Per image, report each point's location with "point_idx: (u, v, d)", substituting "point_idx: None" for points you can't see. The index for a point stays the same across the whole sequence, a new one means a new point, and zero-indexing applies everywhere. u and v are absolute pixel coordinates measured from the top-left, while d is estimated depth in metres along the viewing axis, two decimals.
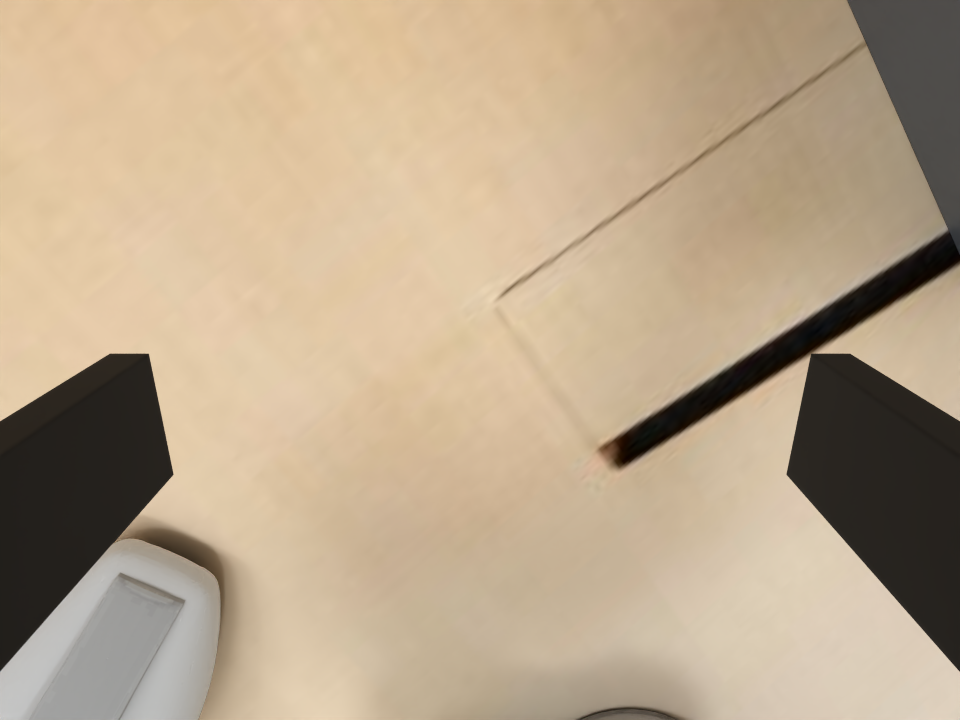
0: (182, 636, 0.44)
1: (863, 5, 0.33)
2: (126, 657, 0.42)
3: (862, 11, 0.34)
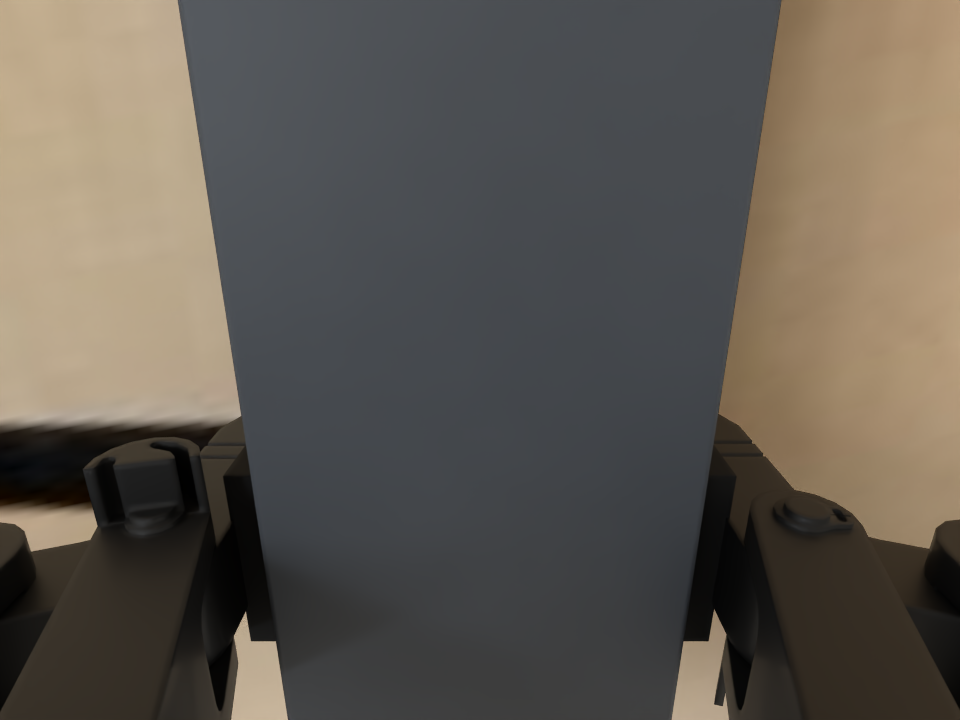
0: None
1: None
2: None
3: None
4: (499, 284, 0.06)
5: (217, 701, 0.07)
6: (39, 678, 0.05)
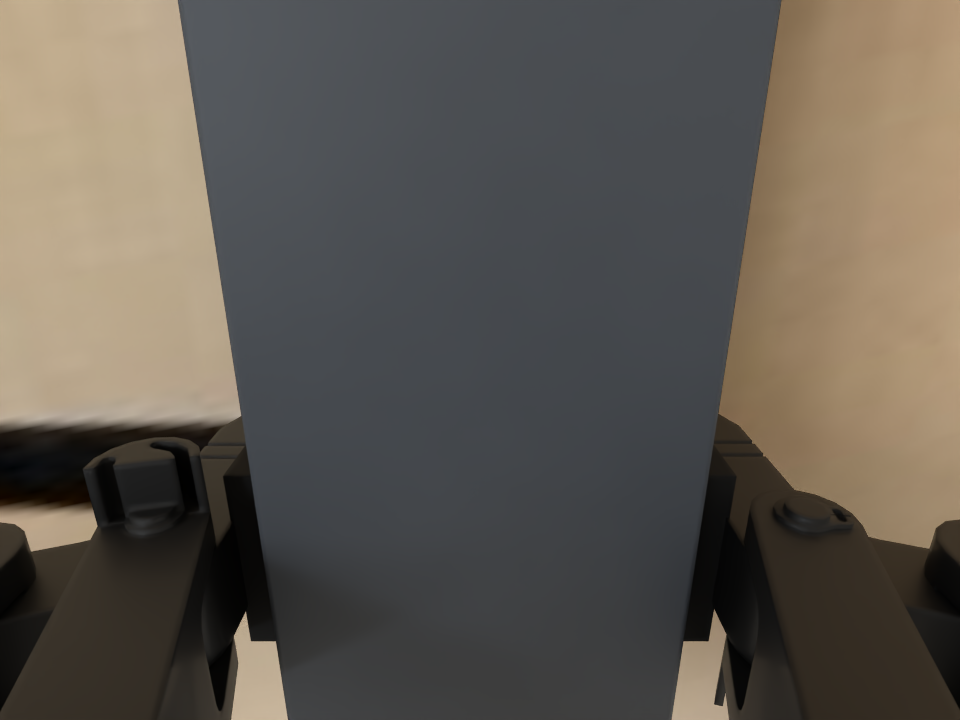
0: None
1: None
2: None
3: None
4: (500, 284, 0.06)
5: (217, 701, 0.07)
6: (39, 678, 0.05)
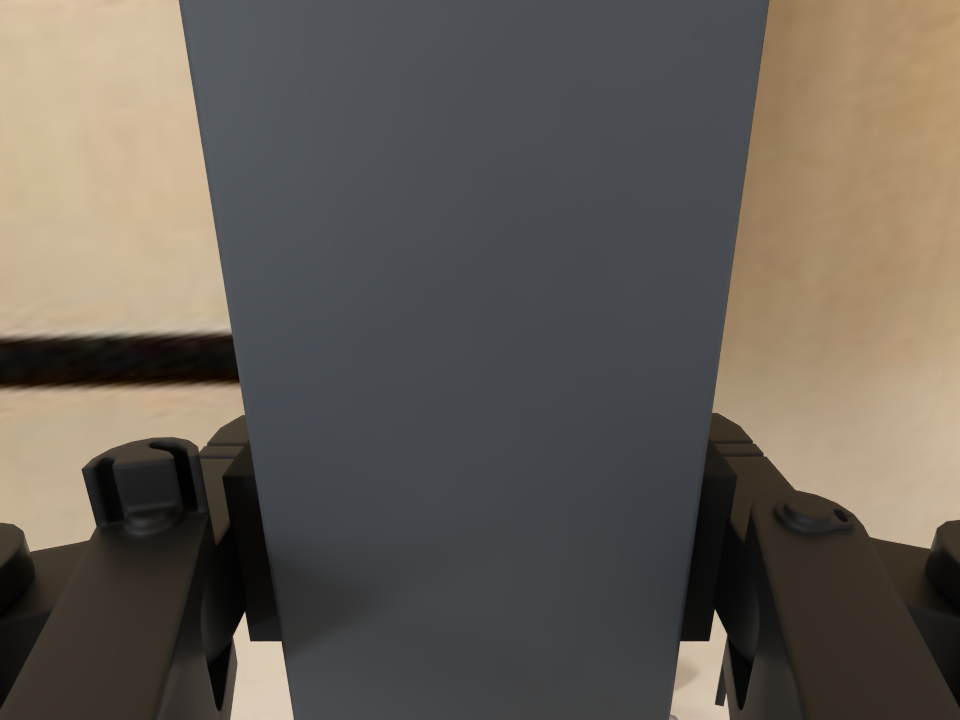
0: None
1: None
2: None
3: None
4: (496, 281, 0.06)
5: (216, 701, 0.07)
6: (37, 678, 0.05)
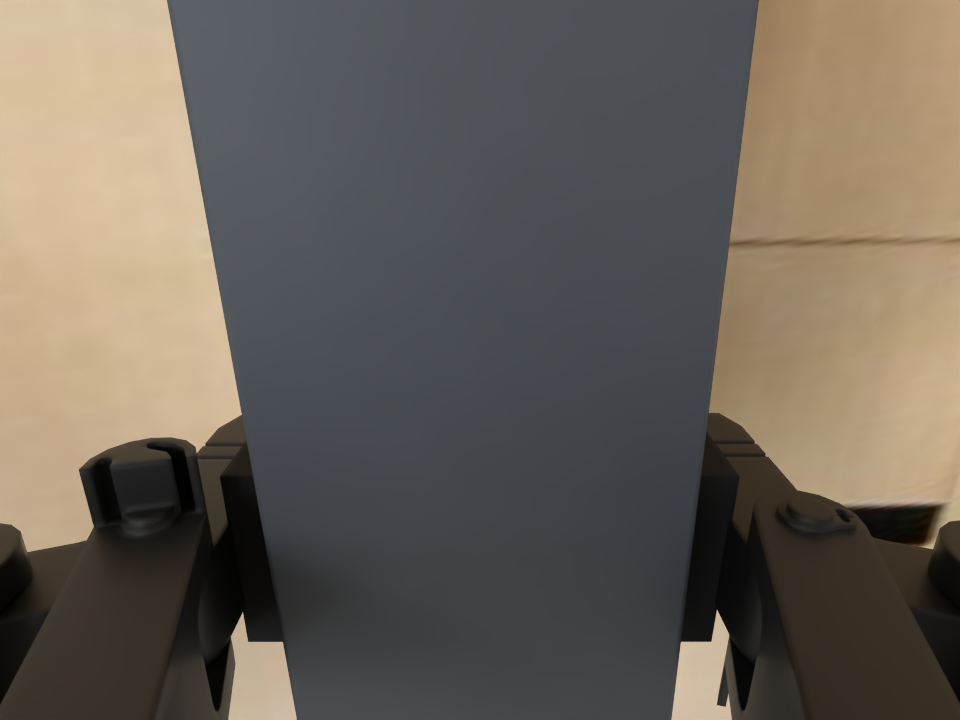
0: None
1: None
2: None
3: None
4: (491, 277, 0.06)
5: (214, 701, 0.07)
6: (34, 679, 0.05)
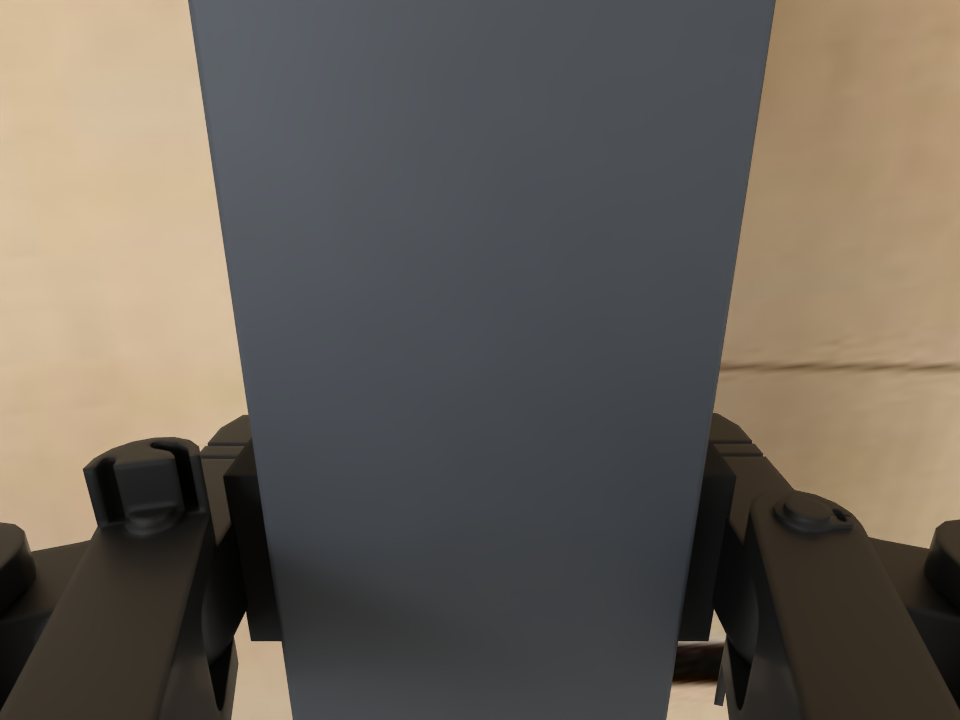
0: None
1: None
2: None
3: None
4: (500, 271, 0.06)
5: (217, 701, 0.07)
6: (39, 678, 0.05)
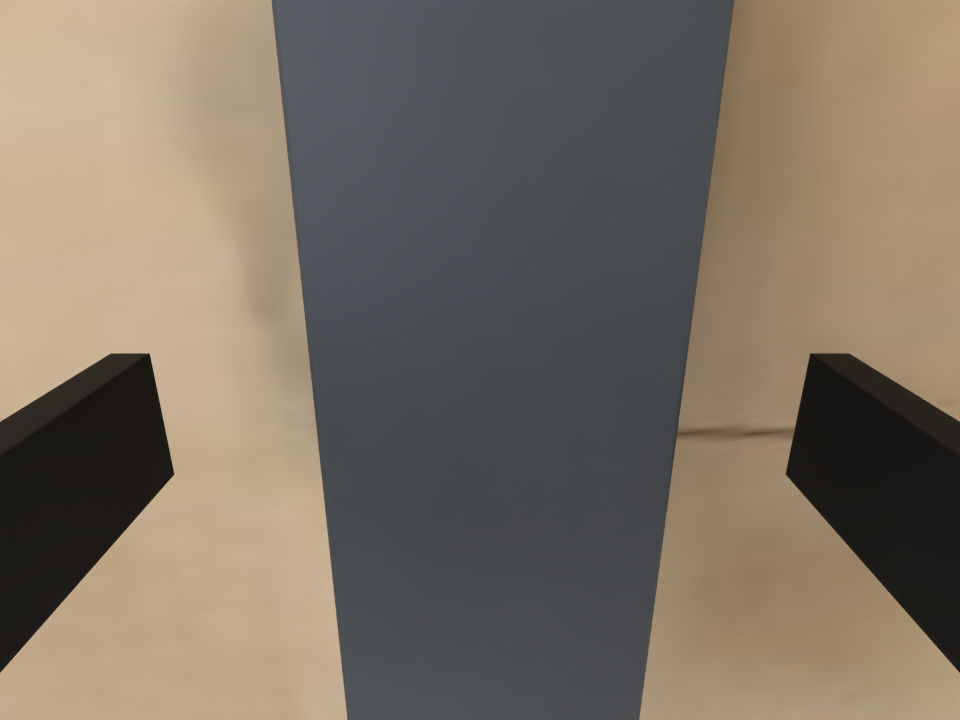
0: None
1: None
2: None
3: None
4: (516, 206, 0.07)
5: None
6: None
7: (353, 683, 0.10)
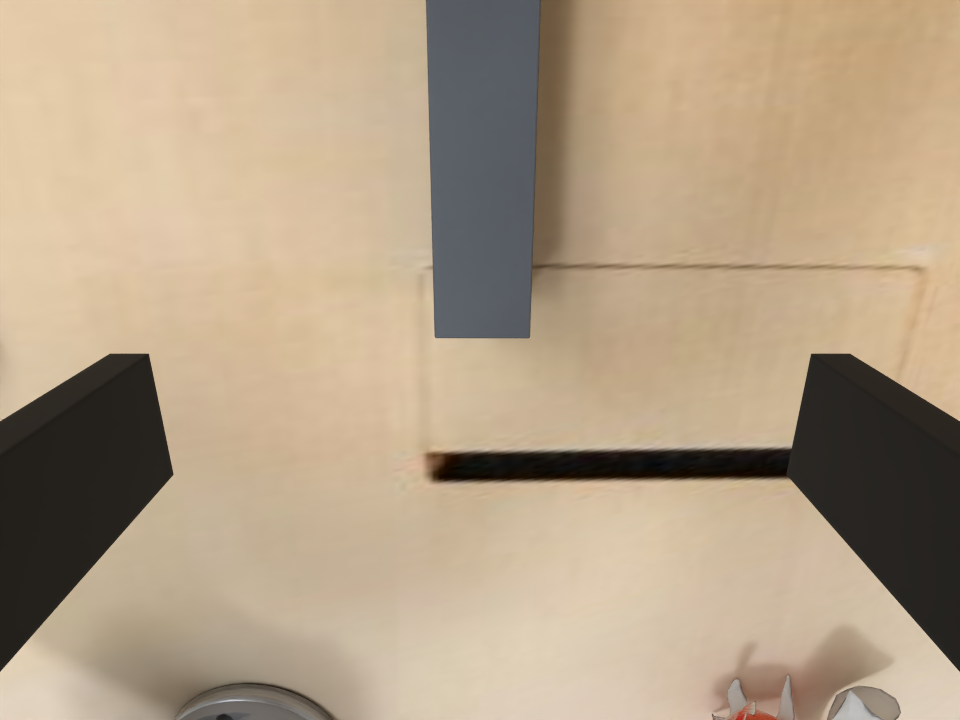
0: None
1: None
2: None
3: None
4: (487, 149, 0.29)
5: None
6: None
7: (437, 306, 0.32)
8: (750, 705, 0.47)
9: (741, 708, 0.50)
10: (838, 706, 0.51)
